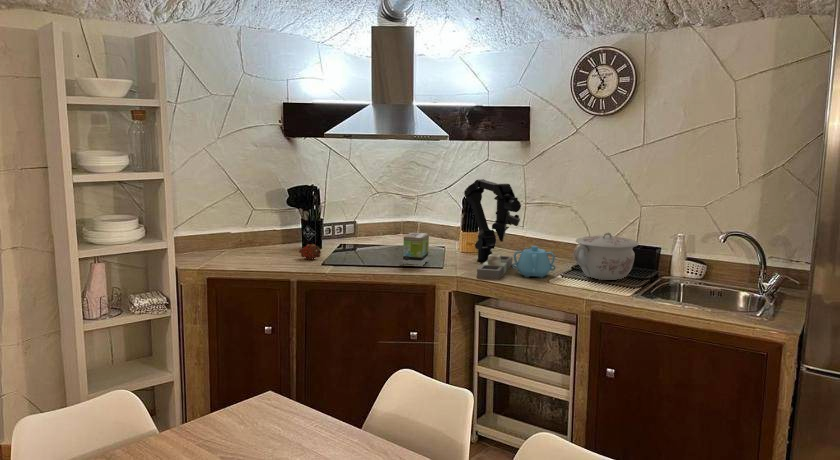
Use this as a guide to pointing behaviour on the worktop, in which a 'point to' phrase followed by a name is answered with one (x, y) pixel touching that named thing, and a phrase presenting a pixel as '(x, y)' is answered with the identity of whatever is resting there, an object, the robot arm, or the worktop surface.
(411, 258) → the tea box
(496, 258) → the cream block
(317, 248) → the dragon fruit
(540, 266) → the decorative pot
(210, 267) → the worktop surface
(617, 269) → the chamber pot
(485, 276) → the trap deck
